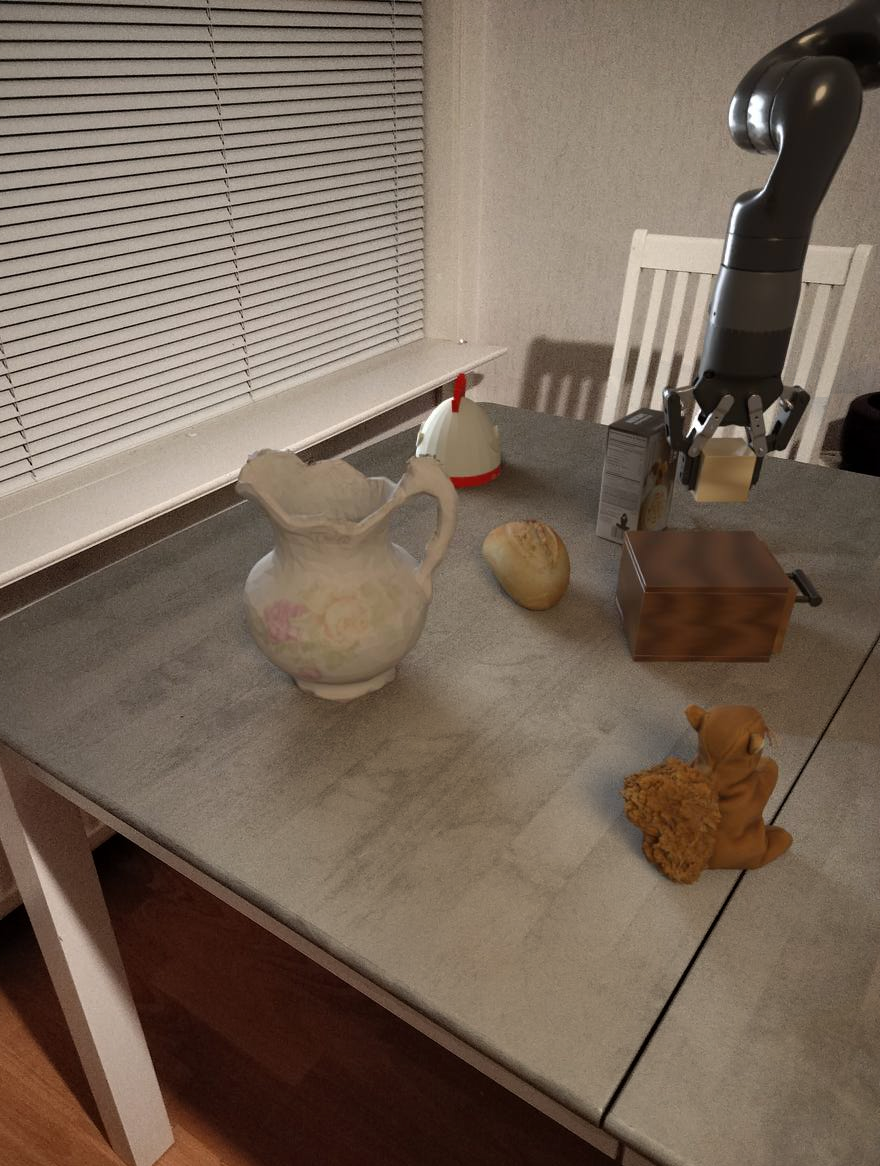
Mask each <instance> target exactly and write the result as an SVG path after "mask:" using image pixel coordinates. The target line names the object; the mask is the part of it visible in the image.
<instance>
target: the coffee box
mask: <svg viewBox="0 0 880 1166" xmlns="http://www.w3.org/2000/svg"><path fill="white" fill-rule="evenodd" d="M681 416H682V429H683V430H684V425H685V420H686V416H685V415H681ZM606 434H607V435H606V440H605V442H606V443H605V452H604V459H603V466H602V467H603V468H602V477H601V487H600V495H599V504H598V514H597V521H596V528H595V529H596V530H595V535H596V536H597V537H599V538H602V539H605V540H608V541H611V542H614V543H616V544H617V543H618V544H620V545H623V540H624V533H625V531H663V529H665V528H666V527H667V526H668V523H669V517H670V510H671V505H672V498H673V493H674V486H675V481H676V475H677V467H678V462H679V457H680V451H674V450H672V448H671V446H670V445H669V443H668V441H667V439H666V431H665V419H664V410H657V409H654V408H649V407H640V408H638V409H636V410H635V411H633V412H631V413H629V414H627V415H624V416H623V417H621V418H619V419H618V420H616V421H614V422H611V423H609V424H608V425H607V433H606Z"/></svg>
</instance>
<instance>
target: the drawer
mask: <svg viewBox="0 0 880 1166" xmlns="http://www.w3.org/2000/svg"><path fill="white" fill-rule="evenodd" d="M759 540H760V539H759ZM760 542H761V544H762V545H763V547H764V548H765V550H766V551H767V553H768V554H769V556H770V557H771V559H772V560H773V562H774V563H775V565H776V566H777V568H778V569H779V571H780V573H781V574H782V576H783V577H784V579H785V580H786V582H787V583H788V585H789V586H790V587H789V591H788V595H787V598H786V602H785V606H784V609H783V613H782V617H781V620H780V624H779V628H778V631H777V635H776V639H775V642H774V646H773V650H772V653H781V652H782V648H783V645H784V641H785V638H786V634H787V631H788V627H789V623H790V620H791V617H792V612H793V609H794V605H795V604H808V605H809V606H810V607H811V608H816V607H819V606H821V605H822V604H823V597H822V596H821V595H820V593H819V592H818V590H817V589H816V588H815V586H814V584H813V583H812V581H811V580H810V579H809V578H808V577H809V576H807V574H806V573H805V572H804V570H803V569H800V568H797V569H793V571H792V572H786V571H785V570H784V569H783V567H782V566H781V564H780V562H779V561H778V560H777V558H776V556H775V555H774V554H773V552H772V550H771V548H770V547H769V546H768V544H767V543H766V541H765V540H763V539H761V540H760ZM794 584H795V585H794ZM796 587H797V588H798V589H797V588H796ZM798 590H799V592H800V593H801V594H802V595H798Z"/></svg>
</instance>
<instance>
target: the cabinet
mask: <svg viewBox="0 0 880 1166" xmlns="http://www.w3.org/2000/svg"><path fill="white" fill-rule="evenodd" d="M620 555H621V556H620V563H619V568H618V569H619V570H618V575H617V576H618V577H617V584H616V592H615V597H614V598H615V599H614V602H615V605H616V609H617V612H618V616H619V618H620V622H621V625H622V629H623V632H624V634H625V637H626V638H625V639H626V641H627V644H628V648H629V651H630V654H631V657H632V660H633V662H679V663H681V662H684V663H685V662H686V663H687V662H690V663H691V662H692V663H693V662H695V663H697V662H701V663H702V662H703V663H769V662H770V661H771V657H772V653H773V652H772V650H773V646H774V642H775V639H776V635H777V631H778V628H779V624H780V620H781V617H782V613H783V609H784V606H785V602H786V598H787V595H788V591H789V587H790V586H789V585H788V583H787V582H786V580H785V579H784V577H783V576H782V574H781V573H780V571H779V569H778V568H777V566H776V565H775V563H774V562H773V560H772V559H771V557H770V556H769V554H768V553H767V551H766V550H765V548H764V547H763V545H762V544H761V542H760V539H759V538H758V536H757V534H756V533H755V531H754V530H660V531H625V533H624V540H623V544H622V548H621V553H620Z"/></svg>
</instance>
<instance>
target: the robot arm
mask: <svg viewBox="0 0 880 1166" xmlns="http://www.w3.org/2000/svg"><path fill="white" fill-rule="evenodd" d="M878 89H880V0H851V2H850V3H849V4H848V5H846V6H845V7H844V8H842V9H841V10H838V11H837V12H835V13H833V14H832V15H830V16H828V17H826V18H823V19H822V20H820V21H818V22H816V23H814V24H813V25H811V26H810V27H808V28H806V29H805V30H803V31H800V32H799V33H798V34H796V35H794V36H792V37H790V38H789V39H787V40H786V41H784V42H783V43H781V44H779V45H778V46H776V47H774V48H773V49H771V50H769V52H768V53H766V54H765V55H764V56H762V57H761V58H760V59H759V60H757V61H756V62H755V63H754V64H753V65H752V66H751V67H750V68H749V69H748V71H746V73H745V74H744V76H743V77H742V78H741V80H740V81H739V82H738V84H737V86H736V88H735V89H734V92H733V94H732V97H731V99H730V102H729V104H728V110H727V119H726V120H727V121H726V122H727V123H726V124H727V129H728V133H729V136H730V138H731V140H732V142H733V143H734V144H735V145H736V146H737V147H738V148H739V149H741V150H742V151H744V152H746V153H748V154H749V153H750V154H753V155H758V156H767V157H775V158H776V160H775V162H774V165H773V168H772V170H771V172H770V173H769V176H768V177H767V180H766V182H765V184H764V186H763V187H758V188H753V189H749V190H747V191H744V192H742V193H741V194H740V195H738V196H737V197H736V198H735V200H734V201H733V203H732V204H731V207H730V211H729V215H728V220H727V226H726V229H725V230H726V231H725V236H724V242H723V247H722V252H721V259H720V264H719V269H718V272H717V275H716V278H715V282H714V285H713V289H712V293H711V298H710V302H709V304H708V308H707V315H708V316H707V321H706V327H705V333H704V339H703V343H702V344H703V345H702V351H701V356H700V362H699V367H698V372H697V374H696V376H695V378H694V379H693V380H692V382H691V383H690V384H689V385H685V386H681V387H676V388H675V387H673V385H666V386H665V387H663V389H662V391H661V395H662V396H661V397H662V406H663V412H664V419H665V431H666V439H667V441H668V443H669V445H670V446H671V448H672V450H674V451H679V453H682V454H681V459H680V465H679V471H678V478H679V481H680V482H681V484H682V485H683V486H684V488H685V490H686V491H690V490H695V485H696V480H697V475H698V469H699V464H700V459H701V458H700V456H699V454H700V453H701V451H702V449H703V448H704V446H705V444H706V442H707V441H708V439H709V438H713V436H714V434H715V432H717V429H718V428H726V427H729V426H737V427H740V428H741V427H743V428H744V430H745V435H746V440H747V444H748V446H749V447H750V448H751V449H752V451H753V452H754V453H755V455H756V456H757V457H756V461H755V466H754V470H753V475H752V479H751V484H750V488H749V491H751V490H752V486H756V485H757V484H758V482H759V479H760V475H761V470H762V466H763V462H764V458H765V457H766V455H768V454H769V453H772V452H775V451H777V452H783V451H785V450H786V449H787V447H788V445H789V443H790V441H791V440H792V437H793V436H794V433H795V431H796V429H797V428H798V426H799V423H800V421H801V419H802V417H803V415H804V414H805V411H806V409H807V408H808V405H809V403H810V402H811V395H810V394H809V393H808V391H806V390H805V389H804V388H803V387H802V386H801V385H799V384H798V385H797V384H796V385H795V384H794V385H793V386H789V385H785V384H784V383H783V380H782V374H783V370H784V368H785V364H786V360H787V355H788V350H789V347H790V342H791V338H792V333H793V329H794V325H795V320H796V316H797V312H798V307H799V302H800V298H801V292H802V283H803V275H804V274H803V273H804V267H805V262H806V258H807V253H808V249H809V245H810V241H811V236H812V233H813V227H814V223H815V219H816V216H817V213H818V212H819V209H820V207H821V206H822V203H823V202H824V200H825V198H826V196H827V194H828V192H829V190H830V188H831V185H832V183H833V181H834V179H835V177H836V175H837V173H838V171H839V169H840V167H841V165H842V163H843V161H844V158H845V157H846V154H847V153H848V150H849V148H850V146H851V144H852V142H853V140H854V137H855V135H856V133H857V131H858V127H859V125H860V124H859V123H860V121H861V117H862V111H863V107H864V93H867V92H873V91H875V90H878ZM692 398H693V399H694V400H695V402H696V403H697V405H698V407H699V409H698V411H697V412H696V414H695V417H694V418H693V420H692V423H691V427H690V428H689V431H688V432H687V434H686V436H685V435H684V428H683V429H682V416H683V415H682V412H683V411H685V410H686V409H687V408H688V403H689V401H690V400H691V399H692ZM777 400H779V401H778V403H779V404H778V405H779V406H780V409H779V410H778V411H779V412H778V413H777V416H776V418H775V420H774V421H773V423H772V426H771V428H770V430H769V432H768V434H767V431H766V423H765V418H764V414H765V412H766V411H767V410H769V408H771V406H773V404H775V402H777ZM766 434H767V435H766Z"/></svg>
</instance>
